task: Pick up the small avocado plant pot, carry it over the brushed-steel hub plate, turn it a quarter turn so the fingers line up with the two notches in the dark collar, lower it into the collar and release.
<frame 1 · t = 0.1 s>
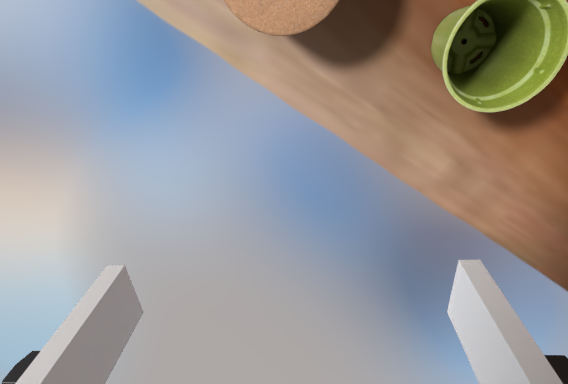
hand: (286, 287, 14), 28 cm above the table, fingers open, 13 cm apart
plant pot: (461, 41, 34), on the table
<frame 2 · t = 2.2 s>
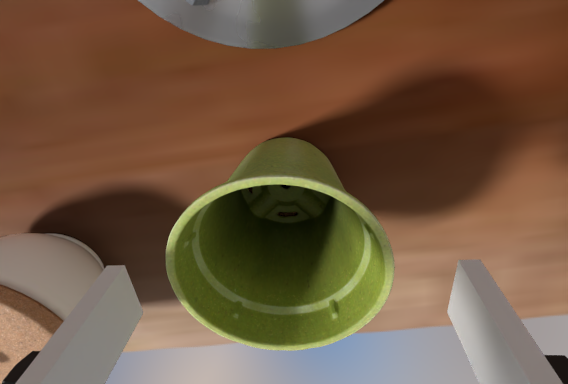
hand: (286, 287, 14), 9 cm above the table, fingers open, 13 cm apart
plant pot: (288, 180, 22), on the table
lidded jar: (67, 263, 26), on the table
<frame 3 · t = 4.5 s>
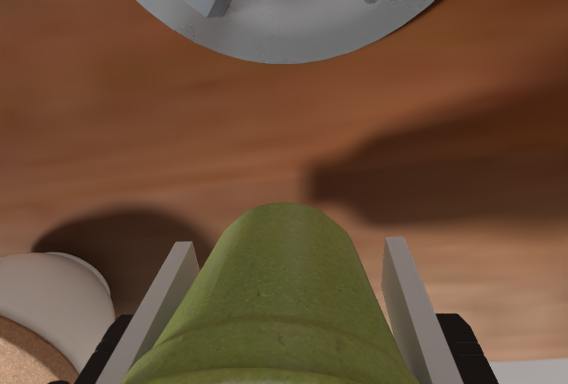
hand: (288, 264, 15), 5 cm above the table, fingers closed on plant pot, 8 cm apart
plant pot: (288, 255, 15), point 5 cm above the table, touching gripper
lidded jar: (71, 282, 25), on the table
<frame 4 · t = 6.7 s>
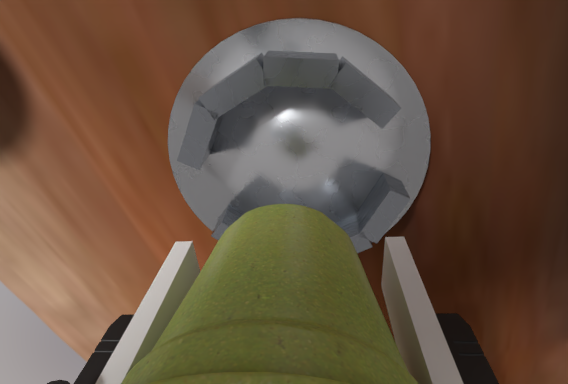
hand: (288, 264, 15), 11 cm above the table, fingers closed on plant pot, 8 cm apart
plant pot: (288, 256, 15), point 11 cm above the table, touching gripper
hub: (296, 157, 24), on the table
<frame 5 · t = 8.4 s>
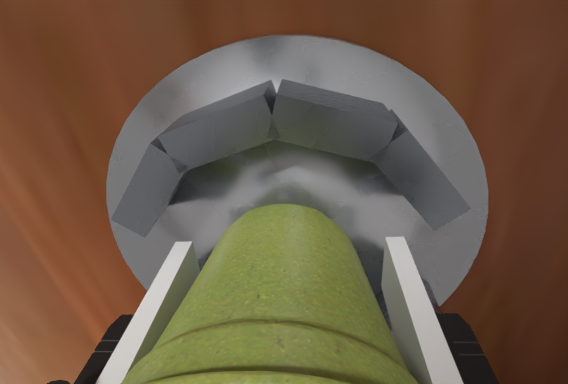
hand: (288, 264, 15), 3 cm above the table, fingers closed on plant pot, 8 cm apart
plant pot: (288, 255, 15), point 2 cm above the table, touching gripper
hub: (291, 226, 17), on the table
when the fingers open (2 cm above the table, at t = 9.1 s): plant pot moves 3 cm, resting on hub.
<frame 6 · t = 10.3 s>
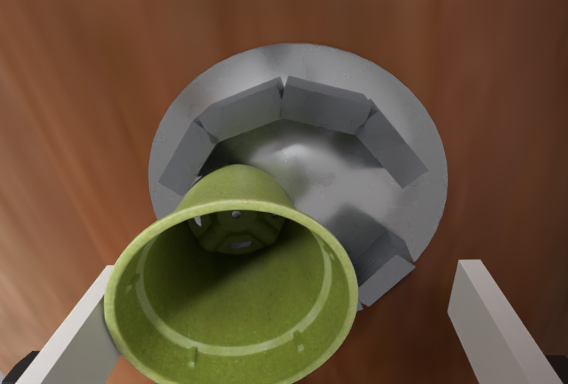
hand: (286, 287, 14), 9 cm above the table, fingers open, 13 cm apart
plant pot: (238, 208, 21), point 1 cm above the table, touching gripper, hub
hub: (294, 195, 22), on the table
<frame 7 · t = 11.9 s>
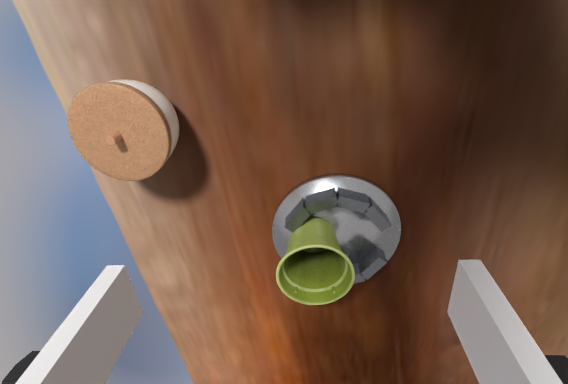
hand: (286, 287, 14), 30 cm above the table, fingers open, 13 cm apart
plant pot: (313, 233, 48), point 1 cm above the table, touching hub
hub: (335, 230, 48), on the table
lidded jar: (149, 115, 42), on the table
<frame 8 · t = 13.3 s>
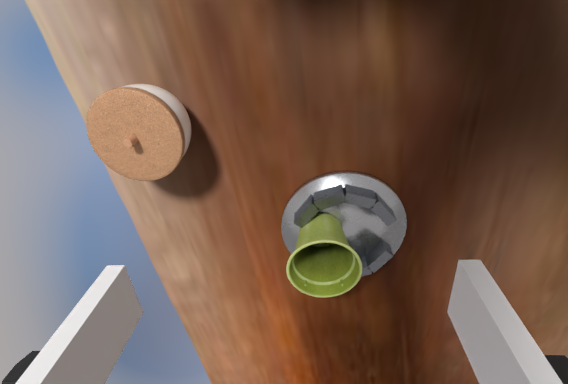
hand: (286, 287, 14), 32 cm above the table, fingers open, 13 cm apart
plant pot: (321, 228, 49), point 1 cm above the table, touching hub
hub: (342, 225, 50), on the table
lidded jar: (162, 117, 44), on the table
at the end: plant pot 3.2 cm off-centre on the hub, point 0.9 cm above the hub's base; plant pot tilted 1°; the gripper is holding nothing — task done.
